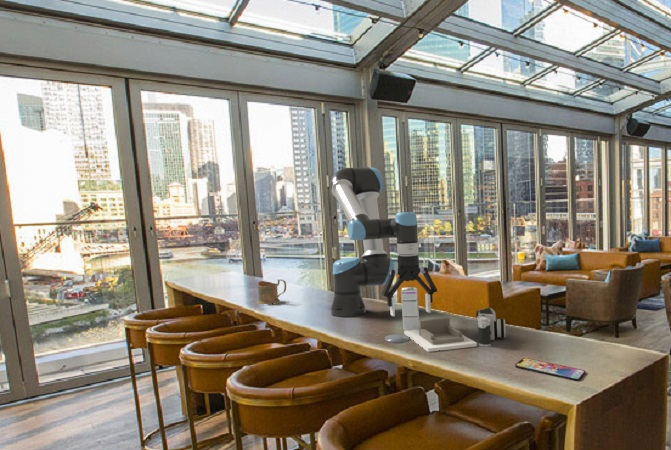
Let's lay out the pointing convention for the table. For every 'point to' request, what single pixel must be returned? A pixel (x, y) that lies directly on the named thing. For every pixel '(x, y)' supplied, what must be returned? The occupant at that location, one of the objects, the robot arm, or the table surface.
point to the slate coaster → (396, 338)
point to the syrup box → (410, 308)
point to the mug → (269, 292)
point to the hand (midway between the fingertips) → (410, 313)
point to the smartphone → (550, 369)
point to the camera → (489, 326)
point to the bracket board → (439, 335)
